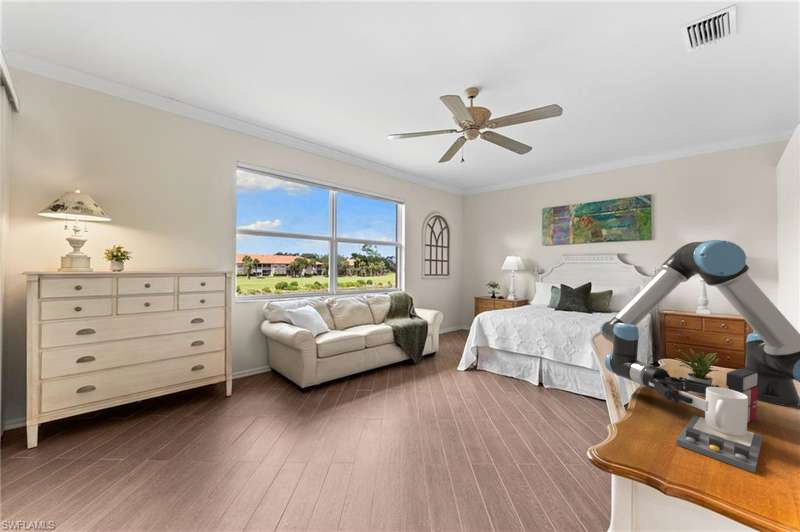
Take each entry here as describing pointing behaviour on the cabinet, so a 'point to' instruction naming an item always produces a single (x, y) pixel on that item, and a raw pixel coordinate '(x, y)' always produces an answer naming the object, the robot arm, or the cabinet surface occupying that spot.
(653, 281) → the robot arm
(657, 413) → the cabinet surface
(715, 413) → the mug
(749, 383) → the dark grey box
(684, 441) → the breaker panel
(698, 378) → the house plant
